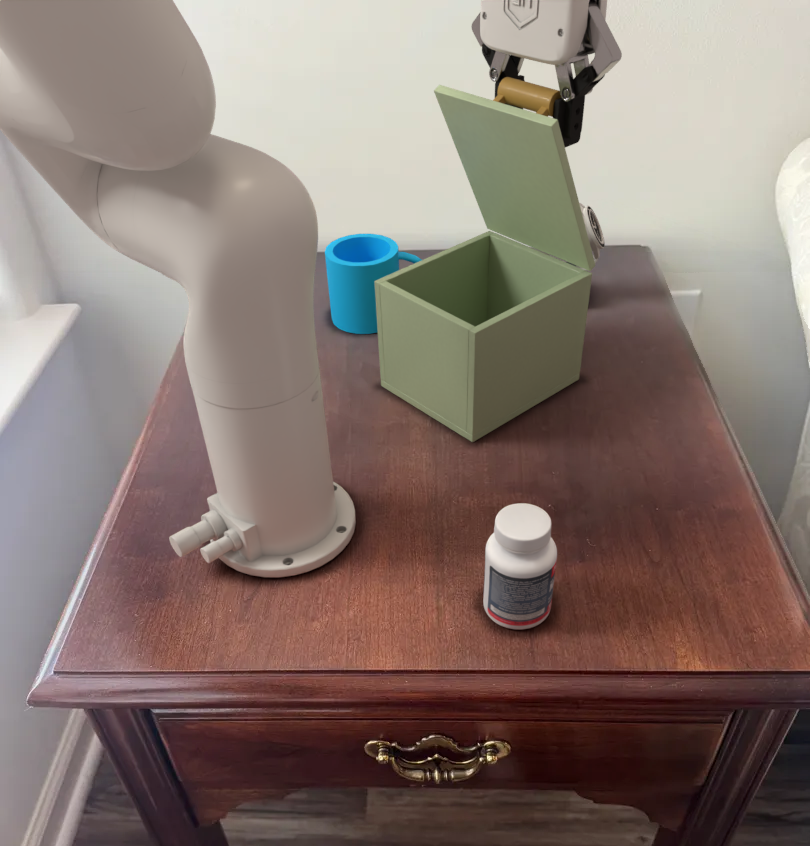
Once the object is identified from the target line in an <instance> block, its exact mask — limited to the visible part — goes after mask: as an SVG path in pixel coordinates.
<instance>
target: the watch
mask: <svg viewBox="0 0 810 846" xmlns="http://www.w3.org/2000/svg"><path fill="white" fill-rule="evenodd" d="M579 204H580V208H581V212H582V216H583V219H584V223H585V227H586V231H587V235H588V239H589V242H590V246H591V250H592V254H593V258H594V262H595V264H597V262H598V261H599V259H600V254H601V250H603V249H604V248H605V243H606V242H605V237H604V233H603V230H602V227H601V224H600V221H599V220H598V217H597V215H596V213H595V211H594V210H593V208H592V207H591V206H590V205H586V206H585V205H584V204H582V203H581V202H579ZM533 249H535V248H533ZM535 250H537V251H540V250H538V249H535ZM540 252H542V253H545V252H543V251H540ZM545 254H547V253H545ZM547 255H549V256H551V255H550V254H547ZM565 262H566V263H569V262H567V261H565ZM569 264H571V265H574V264H572V263H569ZM574 266H576V265H574ZM576 267H578V268H581V267H579V266H576ZM581 269H583V270H585V271H588V270H586V269H584V268H581ZM588 272H589V271H588Z"/></svg>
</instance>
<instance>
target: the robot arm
mask: <svg viewBox="0 0 810 846" xmlns="http://www.w3.org/2000/svg"><path fill="white" fill-rule="evenodd" d="M607 9H608V0H480V12H479V13H478V15H476V17H475V18H474V20H473V21H472V23H471V31H472V33H473V35H474V37H475V39H476V41H477V43H478V45H479V46H480V47H481V54H482V56H483V58H484V60H485V62H486V63H487V65H488V67H489V71H488V76H489V79H490V80H491V81H492V82H494V99H495V98H496V96H497V91H498V86H499V84H500V82H501V81H502V79H504V78H505V77H511V78H514V79H518V80H522V81H525V82H526V80H525V75H522V74H520V72H521V69H522V66H523V63H524V61H525V59H526V60H528V61H529V60H530V61H534V62H537V63H542V64H546V65H550V66H551V65H553V66H554V68H555V74H556V78H557V84H558V90H559V91H560V95H561V98H559V99H556V100H555V102H554V108H553V117H552V118H554V119H557V120H558V123H559V127H560V131H561V135H562V139H563V142H564V146H565V148H568V147H571V146H573V145H575V144H578V143H579V141H580V140H581V136H582V135H581V134H582V131H583V123H584V122H583V121H584V111H585V100H586V96H587V95H589V94H591V93H592V92H593V89H594V88H595V87H596V86H597V85H598V84H599V83H600V82H601V81H602V80H603V79H604V78H605V76H606V74H607V73H609V72H610V71H611V70H613V68H614V67H615V66H616V65H617V64H618V63H619V62H620V61H621V59H622V55H623V54H622V50H621V48H620V46H619V44H618V42H617V40H616V39H615V36H614V34H613V33H612V31H611V29H610V27H609V24H608V23H607V21H606V18H607ZM593 54H594V58H593V59H592V60H591V61H590V60H589V55H593ZM572 64H573V69H574V73H575V74H574V75H575V76H574V75H573V69H572ZM213 79H214V78H213V75H212V72H211V70H210V66H209V64H208V61H207V59H206V56H205V54H204V51H203V49H202V47H201V45H200V43H199V41H198V40H197V38H196V36H195V35H194V33H193V32H192V29H191V28H190V26H189V24H188V23H187V21H186V20H185V18H184V16H183V15H182V12H181V11H180V10H179V8H178V6H177V4H176V3H175V1H174V0H0V132H1V133H2V134H3V135H4V136H5V137H6V139H7V140H8V141H9V142H10V143H11V144H12V145H13V146H14V148H15V149H16V150H17V151H18V152H19V153H20V154H21V156H22V157H24V158H25V160H26V161H27V163H28V164H30V165H31V167H33V169H34V170H35V172H37V173H38V174H39V175H40V176H41V178H42V179H43V180H44V181H45V182H46V184H48V185H49V186H50V188H51V189H52V190H53V191H54V192H55V193H56V194H57V195H58V196H59V197H60V199H62V201H63V202H64V203H65V204H66V205H67V206H68V208H69V209H71V210H72V212H73V213H74V214H75V215H76V216H77V217H78V218H79V219H80V221H82V222H83V223H84V225H85V226H86V227H87V228H88V229H90V230H91V232H93V234H94V235H96V236H97V237H98V238H99V239H100V240H101V241H102V242H104V243H105V244H106V245H107V246H109V247H110V248H111V249H113V250H115V251H116V252H118V253H120V254H121V255H123V256H125V257H127V258H129V259H130V260H133V261H135V262H137V263H138V264H141V265H143V266H145V267H147V268H149V269H151V270H153V271H155V272H158V273H160V274H161V275H162V276H165V277H167V278H168V279H170V280H173V281H174V282H176V283H178V284H179V285H180V286H181V287H182V288H183V289H184V291H185V294H186V296H187V300H188V312H187V313H188V314H187V319H186V324H185V327H184V331H183V341H182V343H183V357H184V362H185V366H186V372H187V376H188V380H189V383H190V387H191V391H192V394H193V399H194V403H195V406H196V412H197V415H198V420H199V423H200V427H201V431H202V435H203V440H204V443H205V447H206V451H207V456H208V459H209V460H208V461H209V464H210V469H211V472H212V476H213V480H214V484H215V489H216V493H214V494H212V495H210V496H207V498H206V501H207V505H208V509H209V511H207V512H205V513H203V514H202V515H201V516H200V521H198V522H197V523H195V524H193V525H191V526H187V527H185V528H183V529H181V530H179V531H177V532H175V533H174V534H172V535H170V536H169V537H168V538H169V539H168V540H169V543H170V546H171V548H172V549H173V551H174V552H175V554H176V555H177V556H178V557H179V558H183V557H185V556H187V555H188V554H190V553H192V552H194V551H195V550H198V549H199V551H200V554H201V556H202V558H203V560H204V561H205V562H206V563H207V564H210V563H213V562H214V561H215V560H217V559H219V560H221V562H223V563H224V564H225V565H226V566H227V567H229V568H231V569H233V570H235V571H237V572H240V573H242V574H247V575H249V576H255V577H261V578H285V577H291V576H297V575H301V574H304V573H308V572H310V571H313V570H315V569H318V568H320V567H322V566H324V565H326V564H327V563H329V562H330V561H332V560H333V559H335V558H336V557H337V556H338V555H339V554H340V553H341V552H343V550H344V549H345V548H346V546H348V544H349V543H350V541H351V539H352V537H353V536H354V533H355V529H356V524H357V520H356V519H357V518H356V509H355V505H354V502H353V500H352V498H351V496H350V494H349V493H348V491H346V490H345V489H344V488H343V487H342V486H341V485H340V484H338V483H337V482H335V481H334V478H333V476H334V475H333V469H332V459H331V451H330V443H329V436H328V426H327V419H326V418H327V417H326V410H325V401H324V394H323V385H322V377H321V367H320V363H319V354H318V353H319V352H318V346H317V345H318V344H317V335H316V323H315V322H316V321H315V277H316V267H317V258H318V249H319V247H318V245H319V221H318V215H317V211H316V207H315V204H314V202H313V199H312V197H311V195H310V193H309V191H308V188H307V187H306V186H305V184H304V183H303V182H302V180H301V179H300V178H299V177H298V176H297V175H296V174H295V173H294V172H293V171H292V170H291V169H290V168H289V167H288V166H286V165H285V164H284V163H283V162H281V161H280V160H278V159H277V158H274V157H272V156H271V155H269V154H268V153H266V152H264V151H261V150H259V149H257V148H254V147H252V146H249V145H246V144H243V143H240V142H237V141H234V140H231V139H227V138H225V137H221V136H218V135H216V134H213V133H212V131H213V128H214V125H215V124H214V123H215V119H216V110H217V109H216V108H217V101H216V99H217V98H216V87H215V83H214V80H213ZM505 104H507V103H505ZM507 105H510V104H507ZM510 106H513V107H517V106H514V105H510ZM517 108H520V109H523V110H524V108H521V107H517ZM207 542H209V543H208V544H206V545H205V546H203V547H201V546H202V545H204V544H205V543H207ZM200 547H201V548H200Z"/></svg>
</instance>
